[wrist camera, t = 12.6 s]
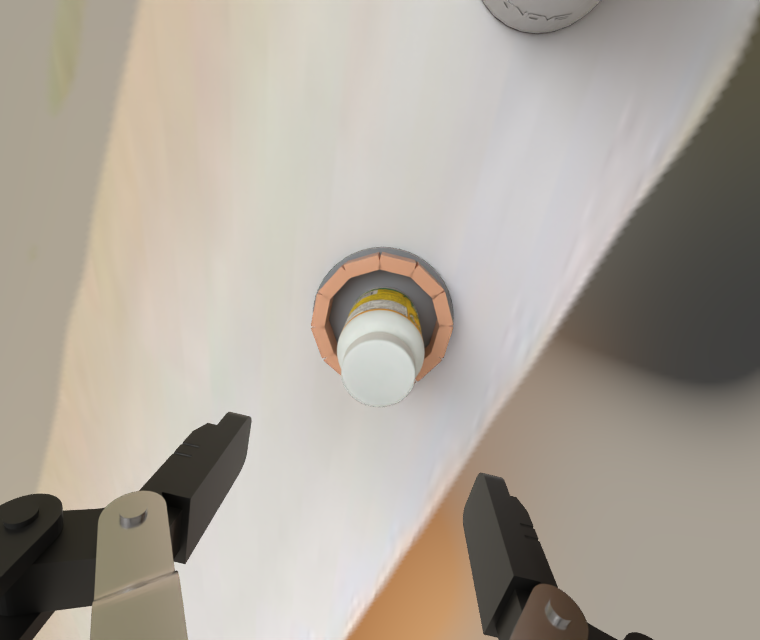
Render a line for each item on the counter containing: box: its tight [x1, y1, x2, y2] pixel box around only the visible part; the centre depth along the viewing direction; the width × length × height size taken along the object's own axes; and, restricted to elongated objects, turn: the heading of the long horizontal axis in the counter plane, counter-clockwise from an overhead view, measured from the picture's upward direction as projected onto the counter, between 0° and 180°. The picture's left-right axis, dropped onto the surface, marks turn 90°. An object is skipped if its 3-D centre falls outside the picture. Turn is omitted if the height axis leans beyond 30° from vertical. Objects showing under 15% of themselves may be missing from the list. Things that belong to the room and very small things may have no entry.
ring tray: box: [311, 247, 453, 383], centre depth 28 cm, size 11×11×3 cm
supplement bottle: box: [337, 287, 425, 407], centre depth 24 cm, size 5×5×10 cm
